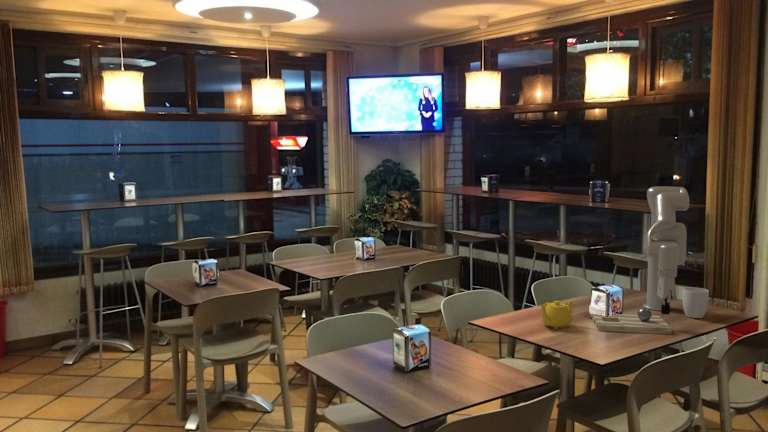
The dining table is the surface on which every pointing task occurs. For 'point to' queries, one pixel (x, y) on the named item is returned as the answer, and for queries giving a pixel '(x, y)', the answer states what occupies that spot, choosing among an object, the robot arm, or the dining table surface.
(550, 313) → the teapot
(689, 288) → the mug
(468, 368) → the dining table surface
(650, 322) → the runway board
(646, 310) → the ball
